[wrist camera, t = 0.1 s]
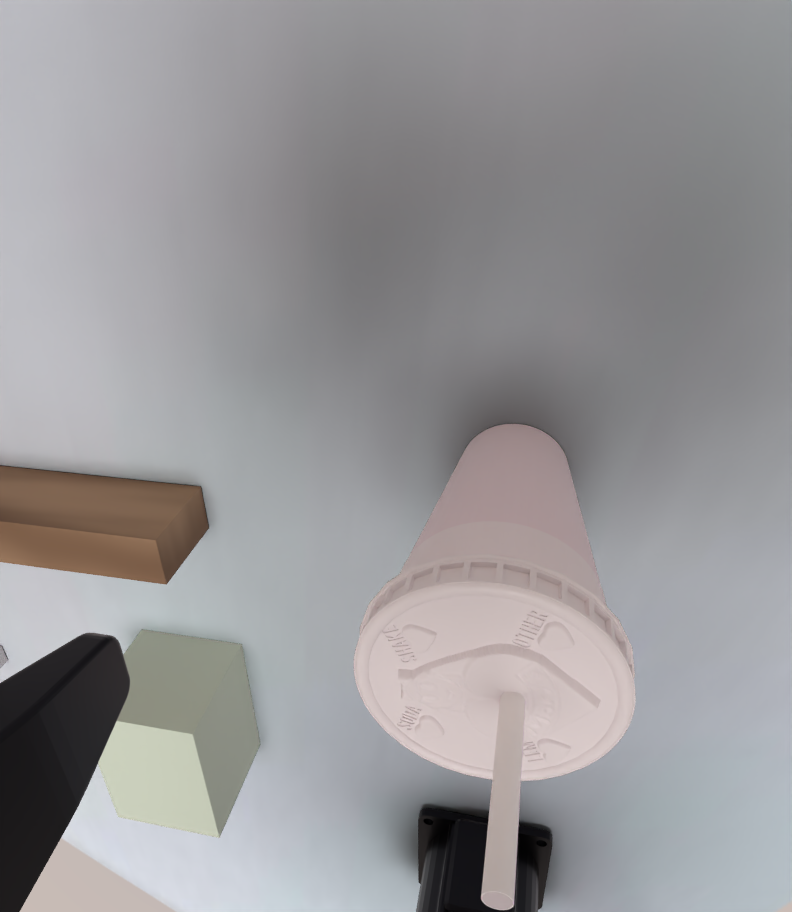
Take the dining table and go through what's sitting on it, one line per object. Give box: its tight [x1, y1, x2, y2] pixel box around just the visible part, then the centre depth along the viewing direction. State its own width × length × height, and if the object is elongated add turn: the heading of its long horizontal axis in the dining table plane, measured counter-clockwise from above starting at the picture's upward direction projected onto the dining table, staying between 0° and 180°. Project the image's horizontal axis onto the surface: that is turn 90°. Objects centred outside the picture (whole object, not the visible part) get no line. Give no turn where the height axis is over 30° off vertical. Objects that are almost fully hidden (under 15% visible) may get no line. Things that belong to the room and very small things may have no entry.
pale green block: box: [98, 629, 260, 838], centre depth 31 cm, size 8×5×5 cm, turn 1°
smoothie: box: [354, 424, 635, 910], centre depth 17 cm, size 6×6×14 cm
